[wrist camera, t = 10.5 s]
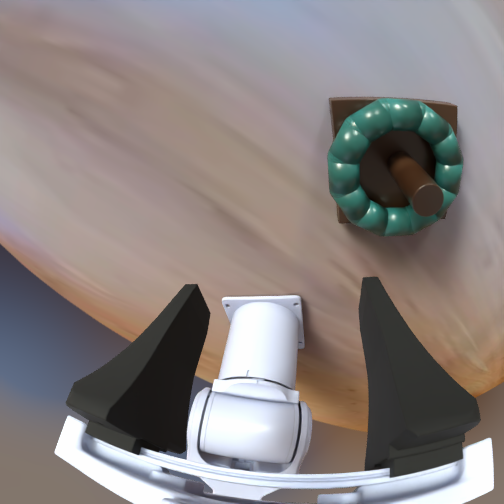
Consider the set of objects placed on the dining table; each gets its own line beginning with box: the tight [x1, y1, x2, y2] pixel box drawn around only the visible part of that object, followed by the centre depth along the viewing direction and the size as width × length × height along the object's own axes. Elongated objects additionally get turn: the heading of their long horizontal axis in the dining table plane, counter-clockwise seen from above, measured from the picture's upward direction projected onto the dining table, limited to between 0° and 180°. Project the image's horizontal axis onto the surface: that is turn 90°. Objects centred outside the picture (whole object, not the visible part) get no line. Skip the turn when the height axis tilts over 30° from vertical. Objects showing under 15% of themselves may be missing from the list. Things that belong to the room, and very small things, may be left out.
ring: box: [327, 98, 463, 236], centre depth 15 cm, size 10×10×2 cm
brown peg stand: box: [329, 97, 457, 223], centre depth 14 cm, size 9×9×6 cm
